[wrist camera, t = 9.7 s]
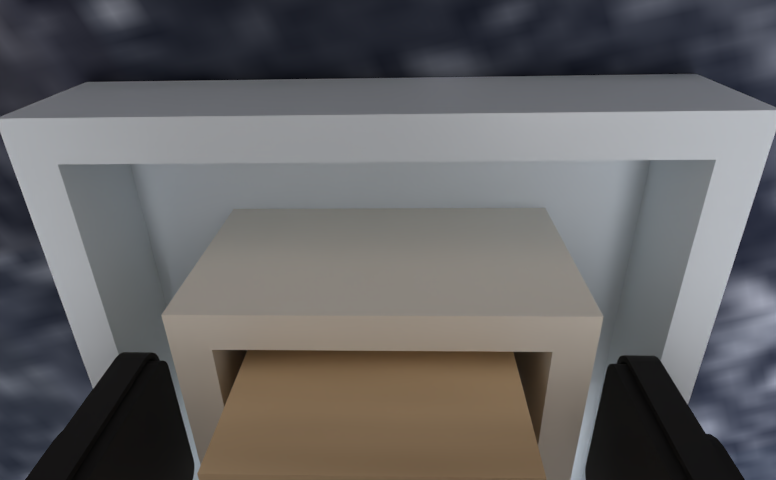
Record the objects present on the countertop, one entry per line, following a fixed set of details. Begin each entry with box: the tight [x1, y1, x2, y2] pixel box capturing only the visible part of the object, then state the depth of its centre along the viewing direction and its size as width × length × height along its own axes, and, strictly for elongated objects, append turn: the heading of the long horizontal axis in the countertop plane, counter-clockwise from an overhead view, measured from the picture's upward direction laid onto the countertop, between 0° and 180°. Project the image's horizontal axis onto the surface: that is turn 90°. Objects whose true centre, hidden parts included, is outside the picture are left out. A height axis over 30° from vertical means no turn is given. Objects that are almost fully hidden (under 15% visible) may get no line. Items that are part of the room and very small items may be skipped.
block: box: [197, 350, 546, 480], centre depth 9 cm, size 4×4×4 cm
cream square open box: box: [161, 208, 603, 480], centre depth 10 cm, size 6×6×4 cm
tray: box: [0, 74, 776, 480], centre depth 11 cm, size 11×11×2 cm
